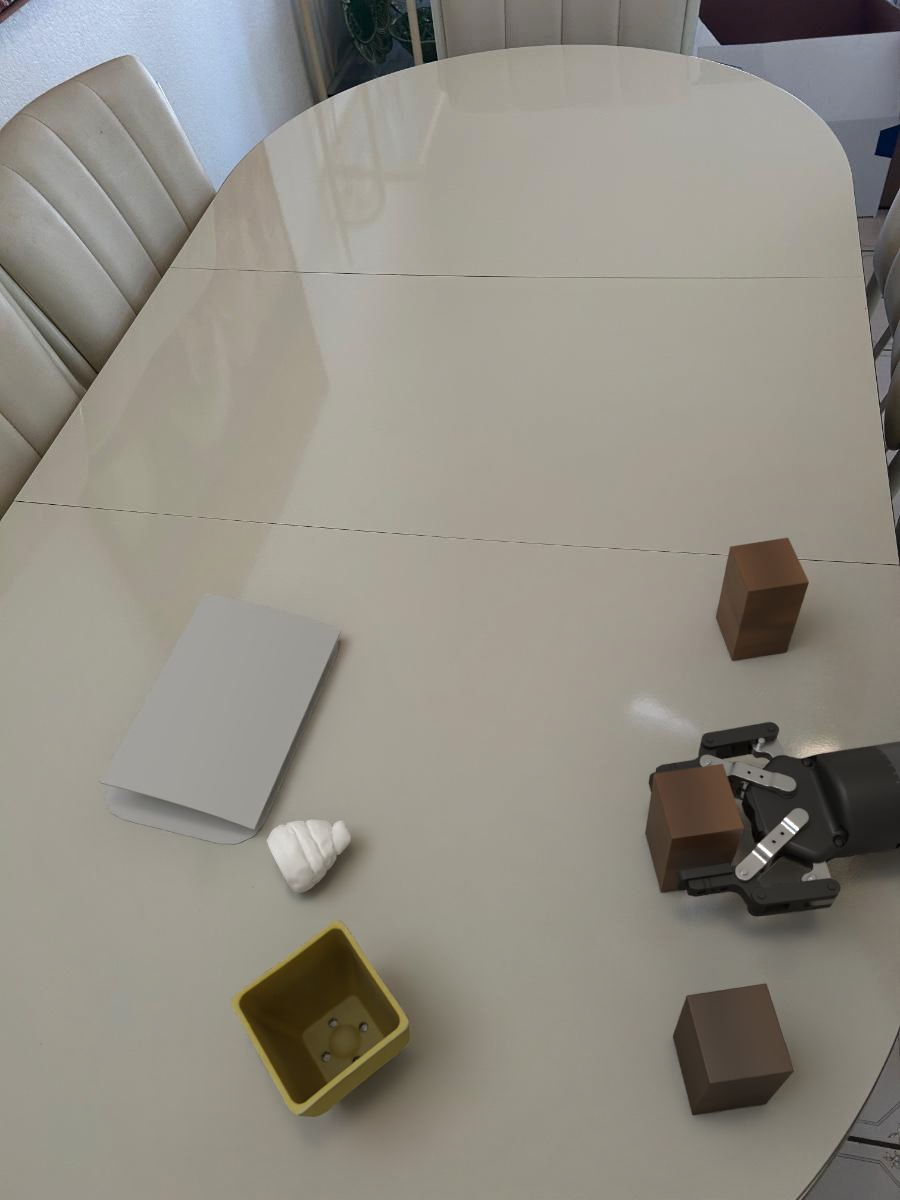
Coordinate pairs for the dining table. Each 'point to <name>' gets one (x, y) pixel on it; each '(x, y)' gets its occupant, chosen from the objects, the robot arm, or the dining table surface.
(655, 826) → the walnut block middle
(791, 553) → the walnut block far
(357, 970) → the flower pot
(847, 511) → the dining table surface
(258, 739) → the book
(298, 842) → the white swirl cone
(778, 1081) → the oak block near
